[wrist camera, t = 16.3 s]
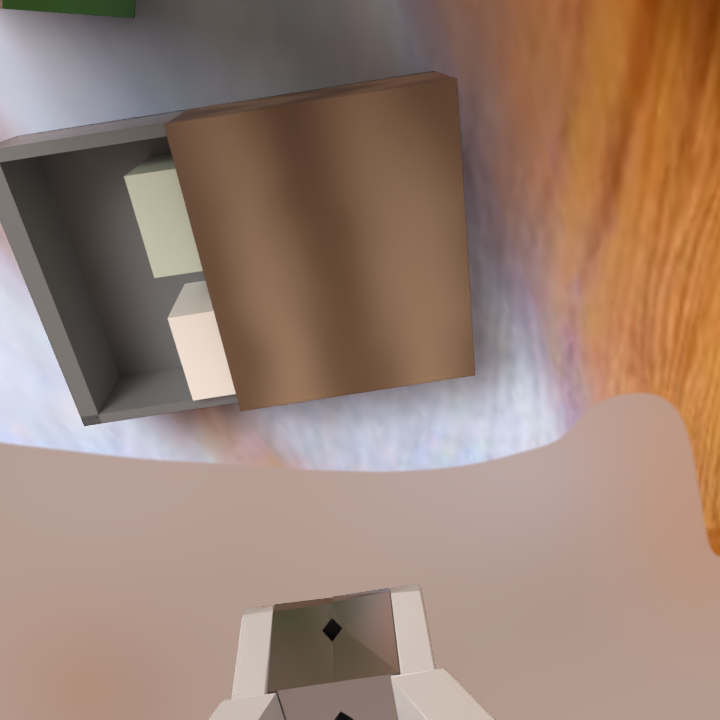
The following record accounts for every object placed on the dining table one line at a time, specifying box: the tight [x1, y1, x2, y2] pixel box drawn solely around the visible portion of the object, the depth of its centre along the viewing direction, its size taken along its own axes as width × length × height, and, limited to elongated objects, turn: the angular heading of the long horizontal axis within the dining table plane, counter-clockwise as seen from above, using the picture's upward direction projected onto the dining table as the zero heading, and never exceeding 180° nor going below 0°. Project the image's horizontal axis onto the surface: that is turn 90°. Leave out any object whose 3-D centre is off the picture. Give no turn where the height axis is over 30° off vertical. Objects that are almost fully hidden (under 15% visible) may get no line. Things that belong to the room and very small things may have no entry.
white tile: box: [168, 281, 236, 401], centre depth 36 cm, size 5×5×2 cm
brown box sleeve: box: [164, 71, 475, 411], centre depth 34 cm, size 13×15×6 cm
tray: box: [0, 110, 238, 426], centre depth 34 cm, size 9×15×5 cm, turn 8°
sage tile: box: [124, 154, 203, 278], centre depth 33 cm, size 5×5×2 cm
